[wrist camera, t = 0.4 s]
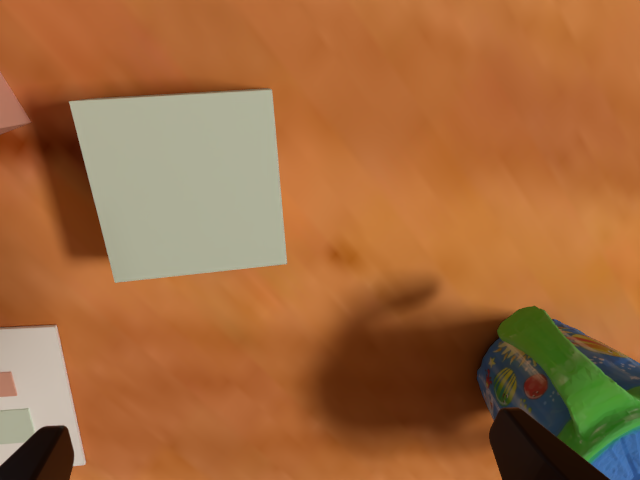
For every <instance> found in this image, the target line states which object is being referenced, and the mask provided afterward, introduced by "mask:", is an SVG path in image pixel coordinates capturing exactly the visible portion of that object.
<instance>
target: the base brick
mask: <svg viewBox="0 0 640 480" xmlns="http://www.w3.org/2000/svg"><path fill="white" fill-rule="evenodd" d="M69 104H70V108H71V112H72V116H73V120H74V124H75V127H76V131H77V135H78V139H79V143H80V147H81V151H82V155H83V159H84V163H85V167H86V171H87V175H88V179H89V182H90V186H91V190H92V194H93V198H94V202H95V206H96V210H97V214H98V218H99V222H100V226H101V230H102V234H103V237H104V241H105V245H106V249H107V253H108V257H109V261H110V265H111V269H112V273H113V277H114V281H115V283H116V282H125V281H135V280H144V279H153V278H162V277H171V276H180V275H190V274H199V273H208V272H217V271H226V270H236V269H245V268H254V267H263V266H272V265H282V264H287V258H286V246H285V235H284V223H283V211H282V200H281V188H280V177H279V165H278V154H277V142H276V131H275V119H274V107H273V96H272V90H271V89H269V88H267V89H249V90H232V91H214V92H196V93H179V94H161V95H144V96H126V97H108V98H93V99H85V100H76V101H69Z"/></svg>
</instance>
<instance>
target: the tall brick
mask: <svg viewBox="0 0 640 480" xmlns="http://www.w3.org/2000/svg"><path fill="white" fill-rule="evenodd" d="M28 123H31V121H30V119H29V117H28V116H27V114H26V113H25V111H24V109H23V108H22V106H21V104H20V103H19V101H18V100H17V98H16V96H15V95H14V93H13V92H12V90H11V88H10V87H9V85H8V84H7V82H6V80H5V79H4V77H3V75H2V74H1V72H0V134H3V133H5V132H8V131H10V130H13V129H16V128H18V127H21V126H23V125H26V124H28Z"/></svg>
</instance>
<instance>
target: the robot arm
mask: <svg viewBox="0 0 640 480" xmlns="http://www.w3.org/2000/svg"><path fill="white" fill-rule="evenodd" d="M489 439H490V444H491V447H492V450H493V453H494V456H495V459H496V462H497V465H498V468H499V471H500V474H501V477H502V480H610V479H609V478H608V477H607V476H605V475H604V474H603V473H602V472H600V471H599V470H598V469H597V468H595V467H594V466H593V465H592V464H590V463H589V462H588V461H586V460H585V459H584V458H583V457H581V456H580V455H579V454H578V453H576V452H575V451H574V450H573V449H571V448H570V447H569V446H568V445H566V444H565V443H564V442H563V441H561V440H560V439H559V438H557V437H556V436H555V435H554V434H552V433H551V432H550V431H549V430H547V429H546V428H545V427H544V426H542V425H541V424H540V423H539V422H537V421H536V420H535V419H534V418H532V417H531V416H530V415H528V414H527V413H526V412H525V411H523V410H522V409H520V408H517V407H508V408H501V409H500V410H499V412H498V414H497V416H496V418H495V420H494V422H493V424H492V426H491V429H490V432H489ZM73 463H74V449H73V445H72V442H71V438H70V434H69V430H68V428H67V427H66V426H64V425H57V426H44V427H42V428H40V429H39V430H37V431H36V432H35V433H34V434H33V435H32V436H31V437H30V438H29V439H28V440H27V441H26V442H25V443H24V444H23V445H22V446H21V447H19V448H18V449H17V450H16V451H15V452H14V453H13V454H12V455H11V456H10V457H9V458H8V459H7V460H6V461H5V462H4V463H3V464H2V465H1V466H0V480H69V479H70V475H71V471H72V468H73Z"/></svg>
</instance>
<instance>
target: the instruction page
mask: <svg viewBox="0 0 640 480" xmlns="http://www.w3.org/2000/svg"><path fill="white" fill-rule="evenodd" d="M57 425H64V426H66V427H67V428H68V430H69V434H70V438H71V442H72V445H73V449H74V463H73V466H79V465H85V463H86V460H85V456H84V451H83V446H82V442H81V437H80V432H79V428H78V423H77V418H76V413H75V409H74V404H73V399H72V395H71V390H70V385H69V381H68V376H67V371H66V366H65V362H64V357H63V352H62V348H61V343H60V338H59V334H58V329H57V325H43V326H22V327H0V466H1V465H2V464H3V463H4V462H5V461H6V460H7V459H8V458H9V457H10V456H11V455H12V454H13V453H14V452H15V451H16V450H17V449H18V448H19V447H21V446H22V445H23V444H24V443H25V442H26V441H27V440H28V439H29V438H30V437H31V436H32V435H33V434H34V433H35V432H36V431H37V430H39V429H40V428H42V427H44V426H57Z"/></svg>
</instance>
